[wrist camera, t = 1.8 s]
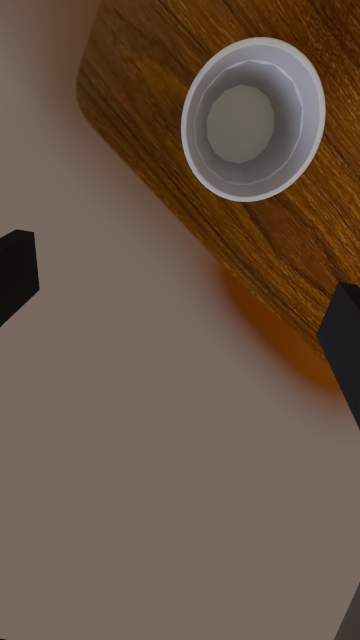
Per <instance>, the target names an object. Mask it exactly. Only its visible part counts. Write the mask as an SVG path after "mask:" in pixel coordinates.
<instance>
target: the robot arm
mask: <svg viewBox="0 0 360 640" xmlns="http://www.w3.org/2000/svg"><path fill="white" fill-rule="evenodd" d="M38 291H39V279H38V268H37V259H36V248H35V239H34V232H29V231H23V230H14V231H12V232H11V233H9V234H7V235H5V236H3V237H1V238H0V327H1V326H2V325H3V324H4V323H5V322H6V321H7V320H8V319H9V318H10V317H11V316H12V315H13V314H14V313H16V311H18V310H19V309H20V308H21V307H22V306H23V305H24V304H25V303H26V302H27V301H28V300H29V299H30V298H31V297H32V296H34V295H35V294H36V293H37V292H38ZM316 336H317V338H318V341H319V343H320V345H321V347H322V349H323V351H324V354H325V356H326V358H327V360H328V362H329V364H330V367H331V369H332V371H333V373H334V375H335V377H336V379H337V381H338V384H339V386H340V388H341V390H342V392H343V395H344V397H345V399H346V401H347V403H348V405H349V407H350V410H351V412H352V414H353V416H354V418H355V420H356V423H357V425H358V427H359V429H360V288H359V287H358V286H357V285H355V284H349V283H342V282H339V283H338V285H337V287H336V290H335V292H334V294H333V297H332V299H331V301H330V304H329V306H328V309H327V311H326V313H325V316H324V318H323V320H322V323H321V325H320V327H319V330H318V332H317V334H316ZM0 640H4V639H0ZM334 640H360V583H359V586H358V588H357V590H356V593H355V594H354V597H353V599H352V601H351V603H350V605H349V608H348V610H347V612H346V614H345V616H344V619H343V621H342V623H341V625H340V628H339V630H338V632H337V634H336V636H335V639H334Z"/></svg>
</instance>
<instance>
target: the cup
mask: <svg viewBox="0 0 360 640" xmlns="http://www.w3.org/2000/svg"><path fill="white" fill-rule="evenodd" d="M325 113H326V107H325V97H324V91H323V87H322V84H321V81H320V78H319V76H318V74H317V72H316V70H315V68H314V67H313V65H312V64H311V62H310V61H309V60H308V59H307V57H306V56H305V55H304V54H303V53H302V52H300V51H299V50H298V49H297V48H295V47H294V46H292V45H290V44H288V43H286V42H284V41H281V40H278V39H274V38H268V37H255V38H248V39H244V40H241V41H238V42H235V43H233V44H231V45H229V46H227V47H225V48H224V49H222V50H221V51H219V52H218V53H217V54H216V55H214V56H213V57H212V58H211V59H210V60H209V61H208V62H207V63H206V64H205V65H204V67H203V68H202V69H201V70H200V72H199V73H198V75H197V76H196V78H195V79H194V81H193V83H192V85H191V87H190V89H189V92H188V94H187V97H186V100H185V104H184V108H183V113H182V121H181V136H182V144H183V149H184V152H185V156H186V159H187V161H188V163H189V165H190V167H191V169H192V171H193V173H194V174H195V176H196V177H197V178H198V179H199V181H200V182H201V183H202V184H203V185H204V186H205V187H207V188H208V189H209V190H210V191H212V192H213V193H215V194H217V195H219V196H221V197H223V198H226V199H229V200H233V201H241V202H250V201H258V200H262V199H266V198H269V197H271V196H273V195H275V194H277V193H279V192H281V191H283V190H284V189H286V188H287V187H288V186H290V185H291V184H292V183H293V182H294V181H296V180H297V179H298V178H299V177H300V175H301V174H302V173H303V172H304V171H305V169H306V168H307V167H308V165H309V164H310V162H311V161H312V159H313V157H314V155H315V153H316V151H317V149H318V147H319V144H320V141H321V138H322V134H323V130H324V124H325Z"/></svg>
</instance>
